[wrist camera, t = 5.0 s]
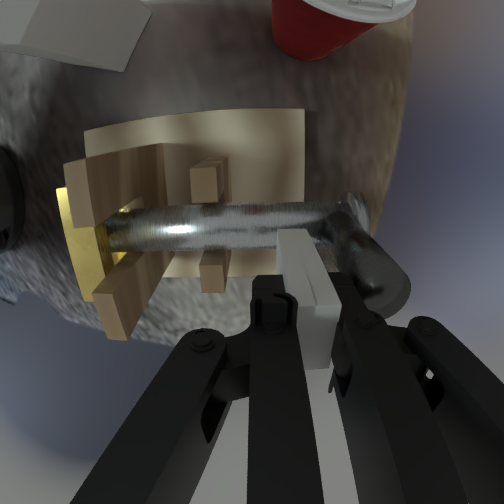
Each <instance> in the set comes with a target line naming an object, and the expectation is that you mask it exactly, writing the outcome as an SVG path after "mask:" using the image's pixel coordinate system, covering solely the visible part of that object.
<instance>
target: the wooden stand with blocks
mask: <svg viewBox="0 0 504 504" xmlns="http://www.w3.org/2000/svg"><path fill="white" fill-rule="evenodd" d="M84 141H85V153H86V158H83V159H79V160H76V161H72V162H68V163H65V164H63V167H64V175H65V182H66V189H67V195H68V201H69V207H70V212H71V217H72V222H73V227H74V228H85V227H96V226H97V225H99V224H100V223H101V222H103V221H104V220H106V219H107V218H108V217H110V216H111V215H113V214H114V213H116V212H117V211H119V210H120V209H121V208H123V207H124V206H126V207H127V208H139V207H153V206H169V205H186V204H207V203H235V202H304V177H305V111H304V109H285V108H256V109H228V110H213V111H200V112H190V113H181V114H173V115H165V116H158V117H151V118H145V119H139V120H133V121H128V122H123V123H118V124H113V125H108V126H104V127H99V128H95V129H91V130H87V131H84ZM276 254H277V249H248V250H198V251H152V252H127V253H126V254H125V255H124V256H123V257H122V258H121V260H120V261H119V262H118V263H117V264H116V265H115V266H114V267H113V268H112V270H111V271H110V272H109V273H108V274H107V275H106V276H105V278H104V279H103V280H102V281H101V282H100V283H99V285H98V286H97V287H96V288H95V289H94V291H93V292H92V293H91V294H92V297H93V300H94V303H95V306H96V308H97V311H98V314H99V317H100V320H101V322H102V325H103V328H104V330H105V333H106V335H107V338H108V339H113V340H124V341H128V339H129V337H130V335H131V333H132V332H133V330H134V328H135V326H136V324H137V322H138V320H139V318H140V316H141V314H142V312H143V311H144V309H145V307H146V305H147V303H148V301H149V300H150V298H151V296H152V294H153V292H154V290H155V289H156V287H157V285H158V283H159V282H160V280H161V278H162V277H200V281H201V289H202V293H225V288H226V282H227V277H245V276H257V275H276Z"/></svg>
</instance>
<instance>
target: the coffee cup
mask: <svg viewBox="0 0 504 504" xmlns="http://www.w3.org/2000/svg"><path fill="white" fill-rule="evenodd" d="M416 2H417V0H272V32H273V37H274V40H275V42H276V44H277V45H278V46H279V48H280V49H281V50H282V51H283V52H285V53H286V54H288V55H289V56H291V57H294V58H296V59H300V60H317V59H321V58H323V57H325V56H327V55H329V54H330V53H332V52H334V51H335V50H337V49H338V48H340V47H341V46H343V45H345V44H346V43H348V42H349V41H351V40H352V39H354V38H356V37H357V36H359V35H360V34H362V33H364V32H365V31H367V30H369V29H370V28H372V27H374V26H375V25H377V24H379V23H386V22H391V21H395V20H398V19H400V18H402V17H404V16H406V15H407V14H408V13H410V12H411V11H412V9H413V8H414V6H415V4H416Z"/></svg>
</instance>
